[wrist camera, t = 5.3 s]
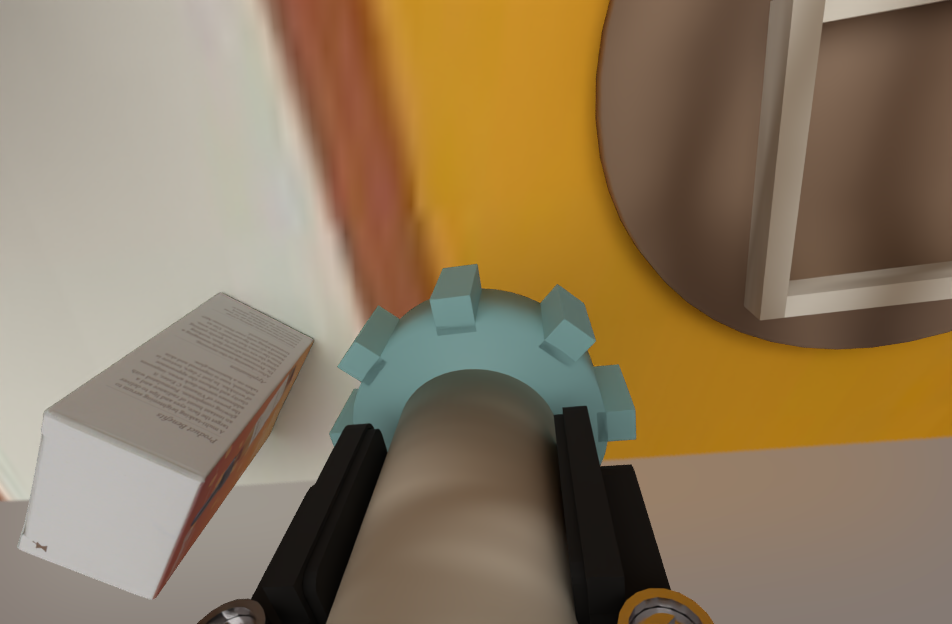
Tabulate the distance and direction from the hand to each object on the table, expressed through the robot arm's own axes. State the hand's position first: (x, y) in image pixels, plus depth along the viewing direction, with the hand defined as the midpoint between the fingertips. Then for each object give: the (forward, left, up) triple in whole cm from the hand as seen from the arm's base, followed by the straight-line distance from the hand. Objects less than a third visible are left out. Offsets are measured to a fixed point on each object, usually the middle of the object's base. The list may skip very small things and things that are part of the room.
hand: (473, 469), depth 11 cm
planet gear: (0, 0, -3) cm, 3 cm away
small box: (+15, +4, -14) cm, 20 cm away
